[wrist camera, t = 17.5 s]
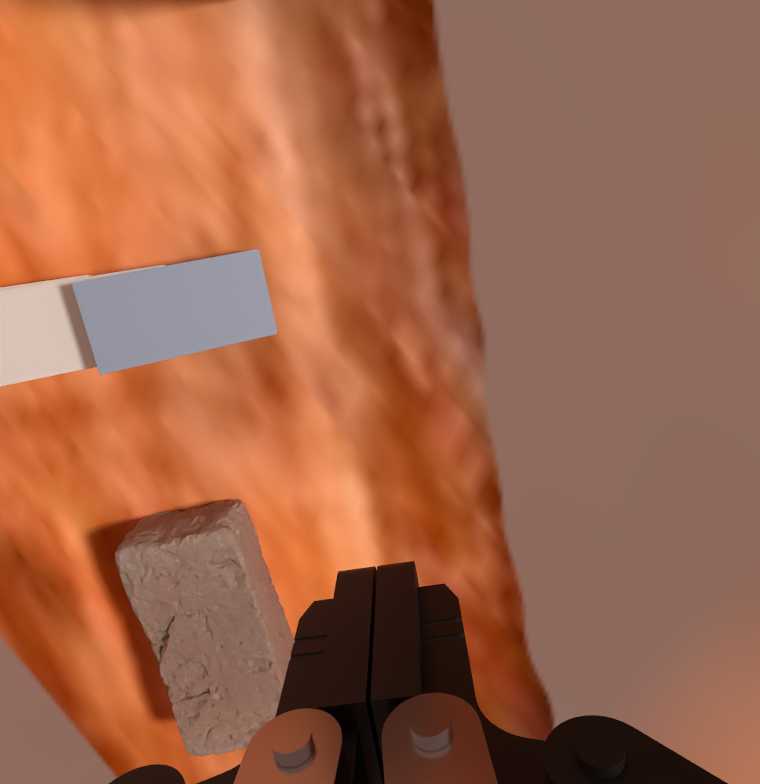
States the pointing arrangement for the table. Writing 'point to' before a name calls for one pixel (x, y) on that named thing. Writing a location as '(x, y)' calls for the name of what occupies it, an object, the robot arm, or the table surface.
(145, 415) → the table surface
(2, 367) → the tile
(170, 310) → the tile
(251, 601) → the brick
